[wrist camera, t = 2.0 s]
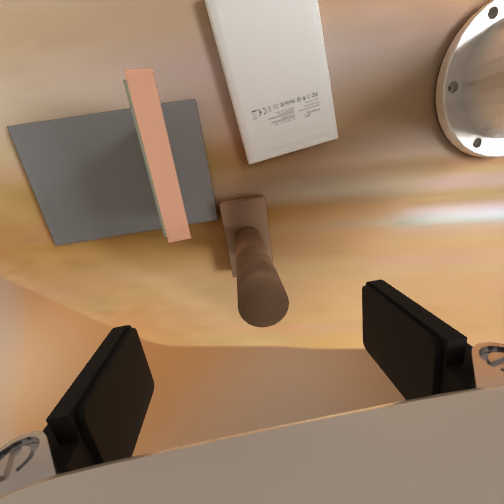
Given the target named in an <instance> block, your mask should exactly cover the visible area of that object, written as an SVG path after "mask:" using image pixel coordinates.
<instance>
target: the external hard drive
mask: <svg viewBox="0 0 504 504" xmlns="http://www.w3.org/2000/svg"><path fill="white" fill-rule="evenodd" d="M204 1H205V5H206V9H207V12H208V16H209V20H210V23H211V27H212V31H213V34H214V38H215V42H216V45H217V49H218V53H219V57H220V60H221V64H222V68H223V71H224V75H225V79H226V83H227V86H228V90H229V94H230V98H231V101H232V105H233V109H234V112H235V116H236V120H237V123H238V127H239V131H240V135H241V138H242V142H243V146H244V149H245V154H246V157H247V161H248V164H253V163H256V162H260V161H263V160H266V159H270V158H273V157H276V156H280V155H283V154H287V153H290V152H293V151H297V150H300V149H303V148H307V147H310V146H314V145H317V144H321V143H324V142H327V141H331V140H334V139H338V132H337V126H336V119H335V112H334V105H333V98H332V91H331V85H330V78H329V72H328V65H327V59H326V52H325V45H324V39H323V32H322V25H321V19H320V12H319V6H318V0H204Z"/></svg>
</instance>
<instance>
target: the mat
mask: <svg viewBox="0 0 504 504" xmlns="http://www.w3.org/2000/svg"><path fill="white" fill-rule="evenodd" d="M161 109H162V113H163V117H164V122H165V126H166V130H167V135H168V139H169V143H170V148H171V152H172V156H173V161H174V165H175V170H176V174H177V178H178V183H179V187H180V191H181V196H182V200H183V204H184V209H185V213H186V217H187V222H188V225H189V224H195V223H201V222H207V221H214V220H218V215H217V209H216V204H215V199H214V194H213V188H212V183H211V178H210V173H209V167H208V162H207V157H206V152H205V146H204V141H203V136H202V131H201V125H200V120H199V115H198V110H197V104H196V101H195V99H191V100H184V101H177V102H170V103H163V104H161ZM7 128H8V130H9V133H10V135H11V138H12V140H13V142H14V145H15V147H16V150H17V152H18V155H19V157H20V160H21V162H22V165H23V167H24V169H25V172H26V174H27V177H28V179H29V182H30V184H31V187H32V189H33V192H34V194H35V196H36V199H37V201H38V204H39V206H40V209H41V211H42V214H43V216H44V219H45V221H46V224H47V226H48V228H49V231H50V233H51V236H52V238H53V241H54V243H55V246H57V245H63V244H70V243H76V242H82V241H88V240H95V239H101V238H107V237H114V236H120V235H126V234H132V233H139V232H145V231H151V230H157V229H162V225H161V222H160V218H159V214H158V210H157V206H156V203H155V199H154V195H153V191H152V187H151V184H150V180H149V176H148V172H147V168H146V165H145V161H144V157H143V153H142V149H141V146H140V142H139V138H138V134H137V130H136V127H135V123H134V119H133V115H132V112H131V108H129V109H123V110H116V111H109V112H102V113H95V114H89V115H82V116H75V117H68V118H61V119H55V120H48V121H41V122H34V123H27V124H21V125H14V126H7Z"/></svg>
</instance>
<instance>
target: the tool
mask: <svg viewBox="0 0 504 504" xmlns="http://www.w3.org/2000/svg"><path fill="white" fill-rule="evenodd" d="M220 210H221V215H222V221H223V226H224V231H225V237H226V242H227V247H228V253H229V258H230V264H231V269H232V274H233V277H237V293H238V310H239V313H240V315H241V317H242V318H243V319H244V320H245V321H246V322H247V323H248V324H250V325H253V326H256V327H268V326H272V325H274V324H276V323H278V322H279V321H280V320H281V319H282V318H283V317H284V316H285V314H286V313H287V310H288V307H289V300H288V296H287V294H286V292H285V289H284V287H283V285H282V282H281V280H280V278H279V276H278V273H277V271H276V269H275V266H274V264H273V257H272V249H271V241H270V234H269V226H268V218H267V210H266V203H265V197H264V196H263V195H261V196H254V197H248V198H242V199H235V200H229V201H222V202H220Z"/></svg>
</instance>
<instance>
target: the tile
mask: <svg viewBox="0 0 504 504" xmlns="http://www.w3.org/2000/svg"><path fill="white" fill-rule="evenodd" d="M124 72H125V76H126V80H123V81H124V85H125V89H126V93H127V96H128V100H129V104H130V108H131V112H132V115H133V119H134V123H135V127H136V130H137V134H138V138H139V142H140V146H141V149H142V153H143V157H144V161H145V165H146V168H147V172H148V176H149V180H150V184H151V187H152V191H153V195H154V199H155V203H156V206H157V210H158V214H159V218H160V222H161V225H162V229H163V233H164V237H167V238H168V242H169V243H171V242H176V241H181V240H186V239H190V238H191V235H190V230H189V226H188V222H187V217H186V213H185V209H184V204H183V200H182V196H181V191H180V187H179V183H178V178H177V174H176V170H175V165H174V161H173V156H172V152H171V148H170V143H169V139H168V135H167V130H166V126H165V122H164V117H163V113H162V109H161V104H160V100H159V96H158V91H157V87H156V82H155V78H154V74H153V69H152V68H142V69H125V70H124Z"/></svg>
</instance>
